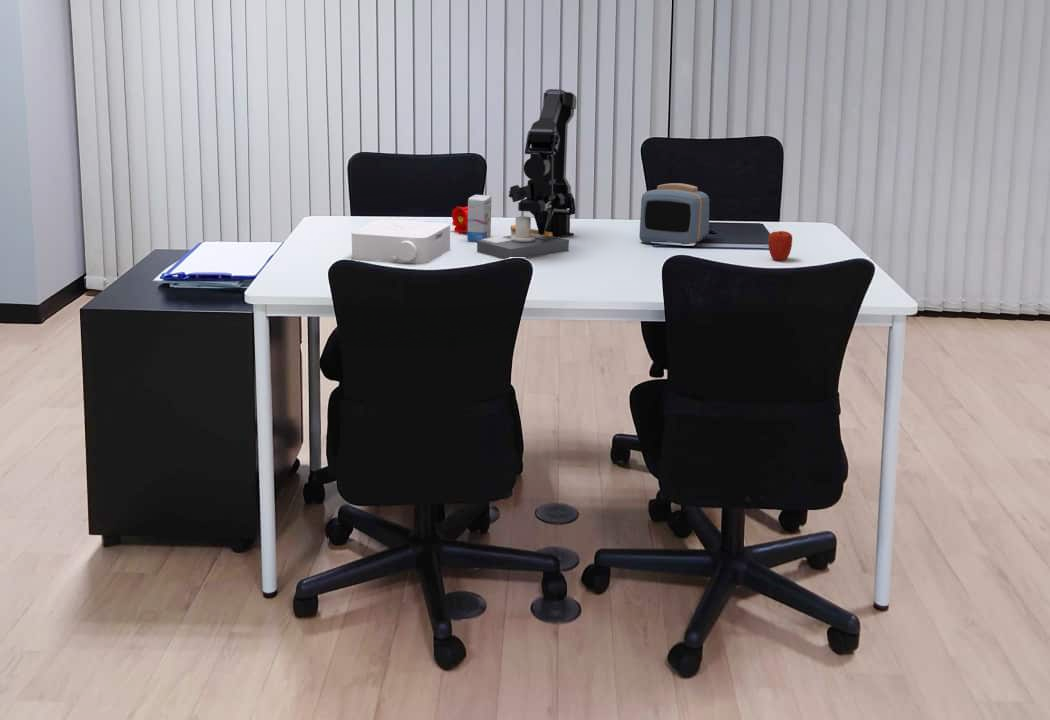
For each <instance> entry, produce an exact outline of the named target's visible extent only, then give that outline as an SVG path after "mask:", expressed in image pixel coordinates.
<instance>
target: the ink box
mask: <svg viewBox="0 0 1050 720" xmlns="http://www.w3.org/2000/svg"><path fill="white" fill-rule="evenodd" d="M467 206H468V233H467V242H472V243H473V242H476V243H477V241H478V240H482V239H486V238H492V236H491V234H492V233H491V232H492V230H491V229H492V227H491V226H492V225H491V224H492V223H491V222H492V195H486V194H474V195H472V196H470V197H468V200H467Z"/></svg>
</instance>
